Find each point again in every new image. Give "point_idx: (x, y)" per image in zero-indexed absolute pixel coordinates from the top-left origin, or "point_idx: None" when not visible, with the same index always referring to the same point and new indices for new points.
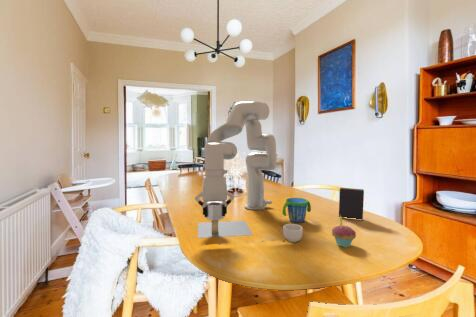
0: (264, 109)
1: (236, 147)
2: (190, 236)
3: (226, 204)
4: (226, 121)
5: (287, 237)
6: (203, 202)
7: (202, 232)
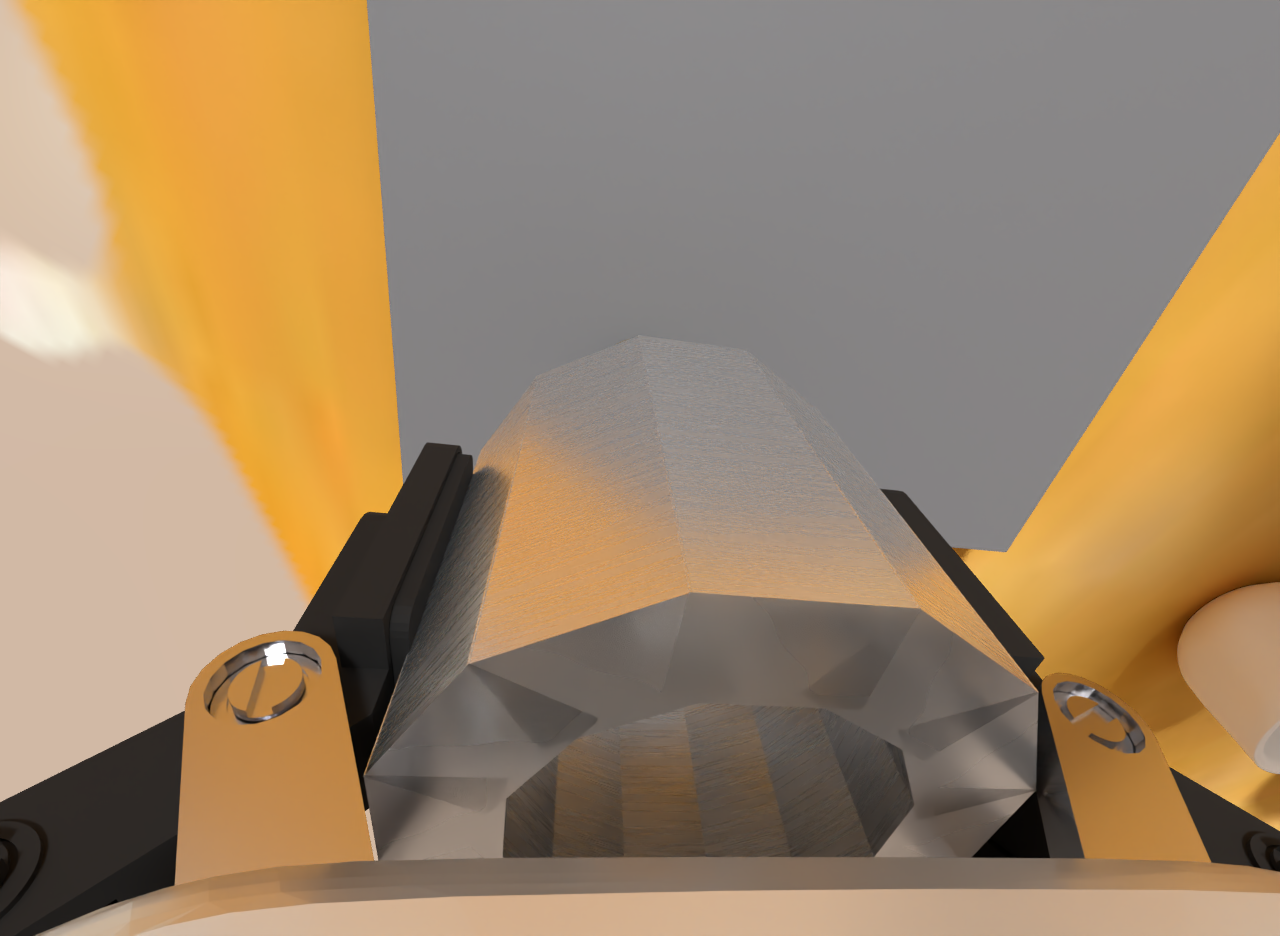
0: None
1: None
2: (295, 286)
3: (1022, 853)
4: None
5: (1188, 684)
6: (214, 825)
7: (461, 339)
